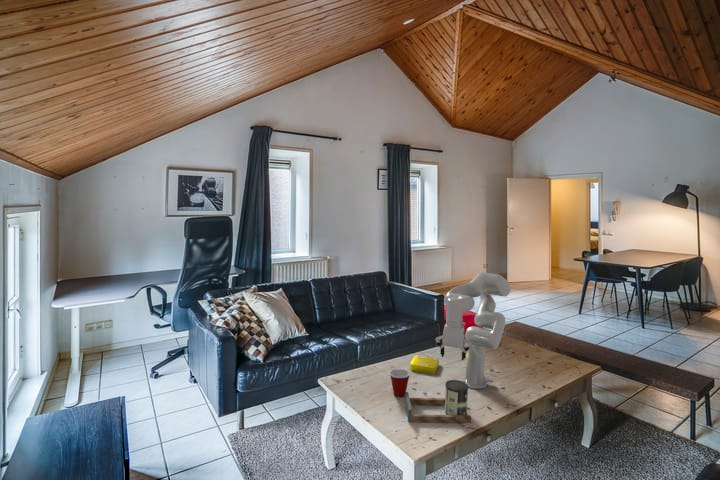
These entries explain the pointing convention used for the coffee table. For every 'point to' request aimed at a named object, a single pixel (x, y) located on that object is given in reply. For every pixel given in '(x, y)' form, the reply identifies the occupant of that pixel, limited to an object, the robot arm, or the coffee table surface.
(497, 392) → the coffee table surface
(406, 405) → the frame
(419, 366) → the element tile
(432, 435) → the coffee table surface
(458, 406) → the coffee can
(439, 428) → the coffee table surface
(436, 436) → the coffee table surface
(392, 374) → the plastic cup
